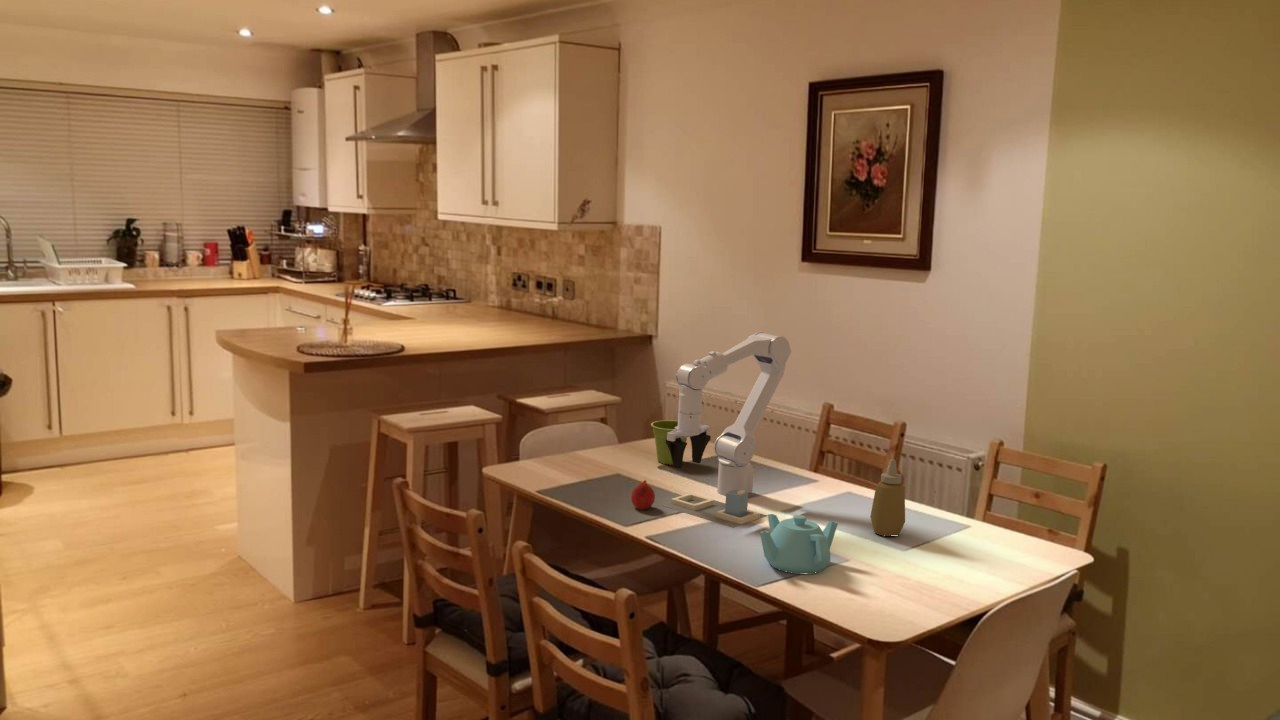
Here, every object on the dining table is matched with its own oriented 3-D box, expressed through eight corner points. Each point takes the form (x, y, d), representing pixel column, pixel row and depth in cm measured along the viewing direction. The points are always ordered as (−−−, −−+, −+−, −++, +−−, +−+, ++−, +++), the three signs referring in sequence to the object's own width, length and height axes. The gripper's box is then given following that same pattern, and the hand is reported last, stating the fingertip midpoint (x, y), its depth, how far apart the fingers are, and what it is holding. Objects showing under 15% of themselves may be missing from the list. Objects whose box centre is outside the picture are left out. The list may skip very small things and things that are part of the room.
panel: (697, 499, 261) (697, 490, 261) (767, 519, 246) (768, 510, 246) (661, 509, 251) (662, 500, 250) (733, 531, 236) (733, 522, 236)
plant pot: (647, 456, 302) (648, 419, 300) (686, 457, 303) (688, 420, 302) (651, 467, 290) (653, 428, 289) (692, 467, 292) (694, 429, 290)
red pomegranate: (651, 516, 245) (653, 484, 244) (628, 513, 246) (629, 482, 245) (656, 509, 250) (657, 478, 249) (633, 507, 252) (634, 475, 250)
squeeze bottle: (905, 531, 242) (911, 458, 239) (902, 541, 235) (909, 466, 232) (870, 526, 245) (877, 454, 242) (867, 536, 237) (873, 461, 234)
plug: (731, 513, 247) (733, 487, 246) (746, 516, 245) (748, 490, 244) (724, 517, 243) (726, 490, 242) (739, 520, 241) (741, 493, 240)
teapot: (753, 571, 211) (756, 521, 210) (766, 548, 226) (769, 502, 224) (827, 582, 207) (831, 531, 205) (835, 558, 221) (839, 511, 220)
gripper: (695, 406, 262) (692, 457, 264) (658, 413, 251) (656, 466, 253) (717, 410, 257) (714, 462, 259) (680, 417, 246) (677, 472, 248)
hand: (686, 464), depth 256 cm, fingers open, 7 cm apart
